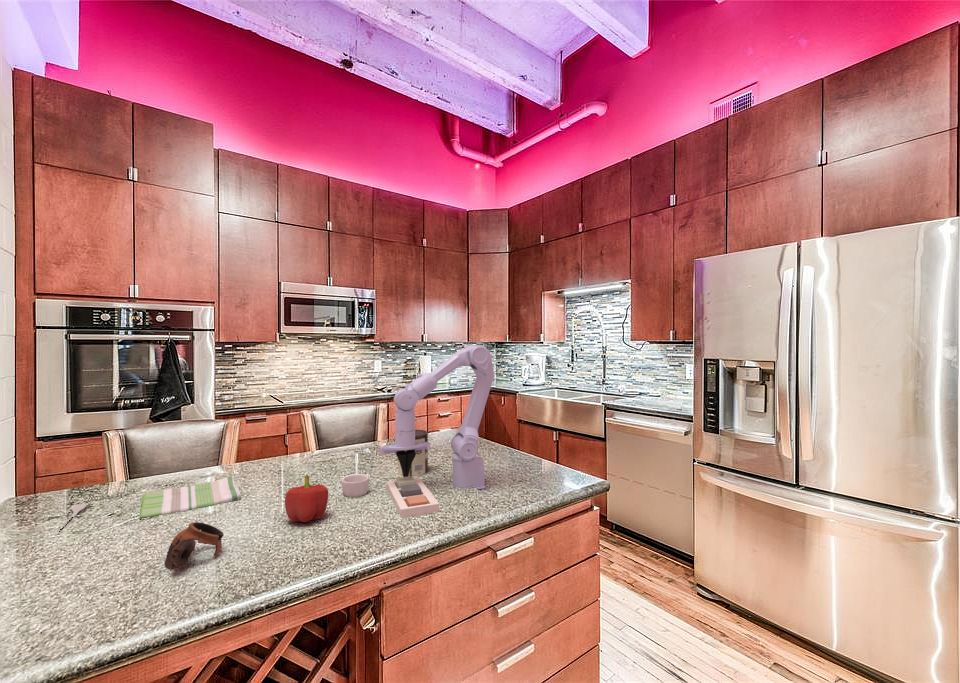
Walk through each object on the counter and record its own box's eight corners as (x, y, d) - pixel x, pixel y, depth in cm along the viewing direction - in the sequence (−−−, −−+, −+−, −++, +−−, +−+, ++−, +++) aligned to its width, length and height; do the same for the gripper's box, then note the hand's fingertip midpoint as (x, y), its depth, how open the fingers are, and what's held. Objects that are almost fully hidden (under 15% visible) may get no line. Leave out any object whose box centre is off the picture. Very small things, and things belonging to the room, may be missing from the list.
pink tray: (419, 487, 132) (419, 477, 132) (439, 515, 112) (439, 503, 112) (386, 491, 128) (386, 481, 128) (400, 521, 108) (400, 509, 108)
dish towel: (241, 501, 123) (241, 489, 123) (139, 523, 109) (139, 509, 109) (234, 485, 137) (234, 474, 137) (142, 501, 123) (142, 489, 123)
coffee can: (411, 467, 152) (411, 428, 151) (434, 472, 146) (434, 431, 146) (390, 476, 143) (390, 433, 143) (414, 481, 137) (414, 437, 137)
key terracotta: (423, 503, 117) (423, 494, 117) (427, 510, 112) (427, 501, 112) (405, 506, 115) (405, 497, 115) (409, 513, 110) (409, 503, 110)
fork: (42, 547, 101) (41, 536, 101) (83, 505, 120) (82, 496, 120) (58, 545, 102) (57, 534, 102) (96, 504, 121) (95, 494, 121)
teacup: (370, 499, 123) (370, 480, 123) (342, 503, 120) (342, 484, 120) (366, 487, 132) (365, 470, 132) (339, 491, 129) (339, 473, 129)
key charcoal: (417, 492, 123) (417, 483, 123) (421, 498, 119) (421, 489, 119) (400, 494, 121) (400, 485, 121) (404, 500, 117) (404, 491, 117)
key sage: (412, 484, 130) (411, 476, 130) (415, 489, 125) (415, 481, 125) (396, 486, 128) (396, 478, 128) (399, 491, 123) (399, 483, 123)
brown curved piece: (172, 554, 93) (194, 516, 96) (213, 571, 94) (234, 533, 97) (143, 568, 82) (169, 525, 85) (191, 587, 83) (215, 544, 86)
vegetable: (285, 513, 113) (285, 476, 113) (327, 507, 117) (326, 471, 117) (284, 531, 103) (284, 489, 103) (329, 523, 107) (329, 483, 107)
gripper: (425, 425, 133) (426, 469, 133) (378, 429, 127) (378, 474, 128) (431, 430, 126) (432, 475, 126) (381, 434, 121) (382, 482, 121)
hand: (405, 475), depth 126 cm, fingers closed
